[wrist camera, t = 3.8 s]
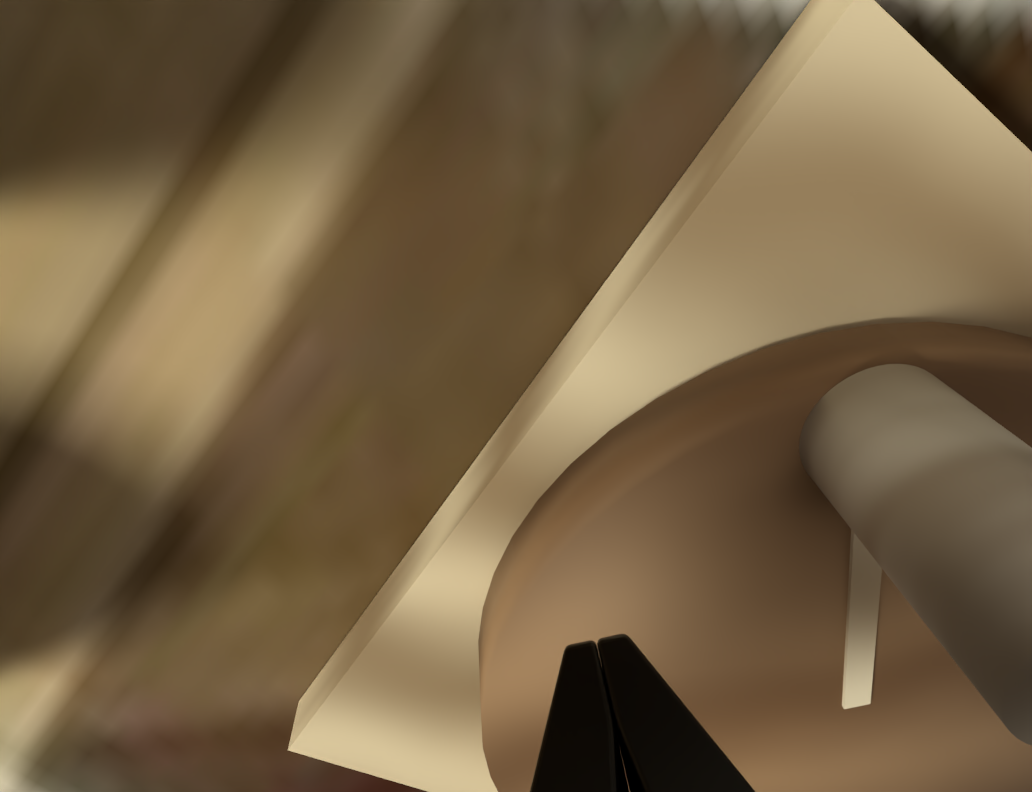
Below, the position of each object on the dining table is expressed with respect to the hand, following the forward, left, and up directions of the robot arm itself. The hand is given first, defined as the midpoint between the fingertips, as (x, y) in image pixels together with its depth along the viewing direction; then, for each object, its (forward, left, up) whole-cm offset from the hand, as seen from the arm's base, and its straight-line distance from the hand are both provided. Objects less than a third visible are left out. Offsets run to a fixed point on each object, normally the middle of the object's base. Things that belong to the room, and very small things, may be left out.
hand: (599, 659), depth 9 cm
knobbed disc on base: (-1, -9, -5) cm, 11 cm away
